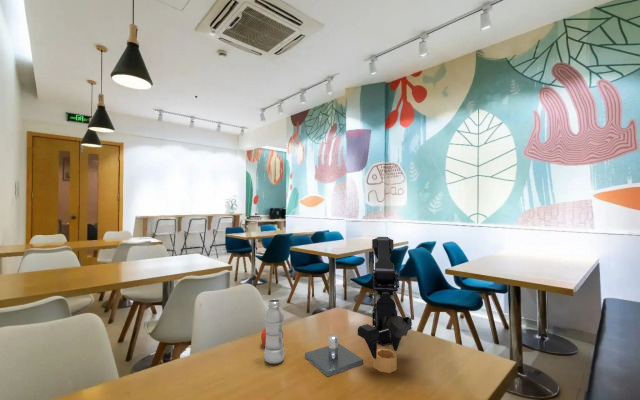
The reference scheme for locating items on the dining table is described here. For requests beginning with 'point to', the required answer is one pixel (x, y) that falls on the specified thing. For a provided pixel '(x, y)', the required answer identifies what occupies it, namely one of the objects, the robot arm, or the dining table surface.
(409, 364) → the dining table surface
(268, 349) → the plastic bottle
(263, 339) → the apple
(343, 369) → the piston stand
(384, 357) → the collar
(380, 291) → the robot arm
